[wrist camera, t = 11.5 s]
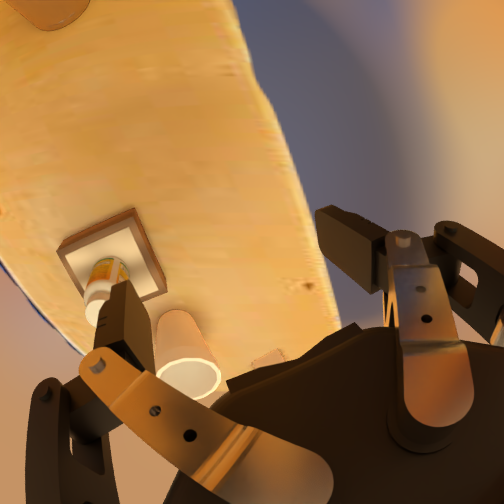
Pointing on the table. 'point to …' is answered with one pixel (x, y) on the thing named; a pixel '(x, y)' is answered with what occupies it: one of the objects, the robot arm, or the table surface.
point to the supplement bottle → (102, 285)
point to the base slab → (114, 254)
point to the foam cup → (184, 356)
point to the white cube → (268, 359)
